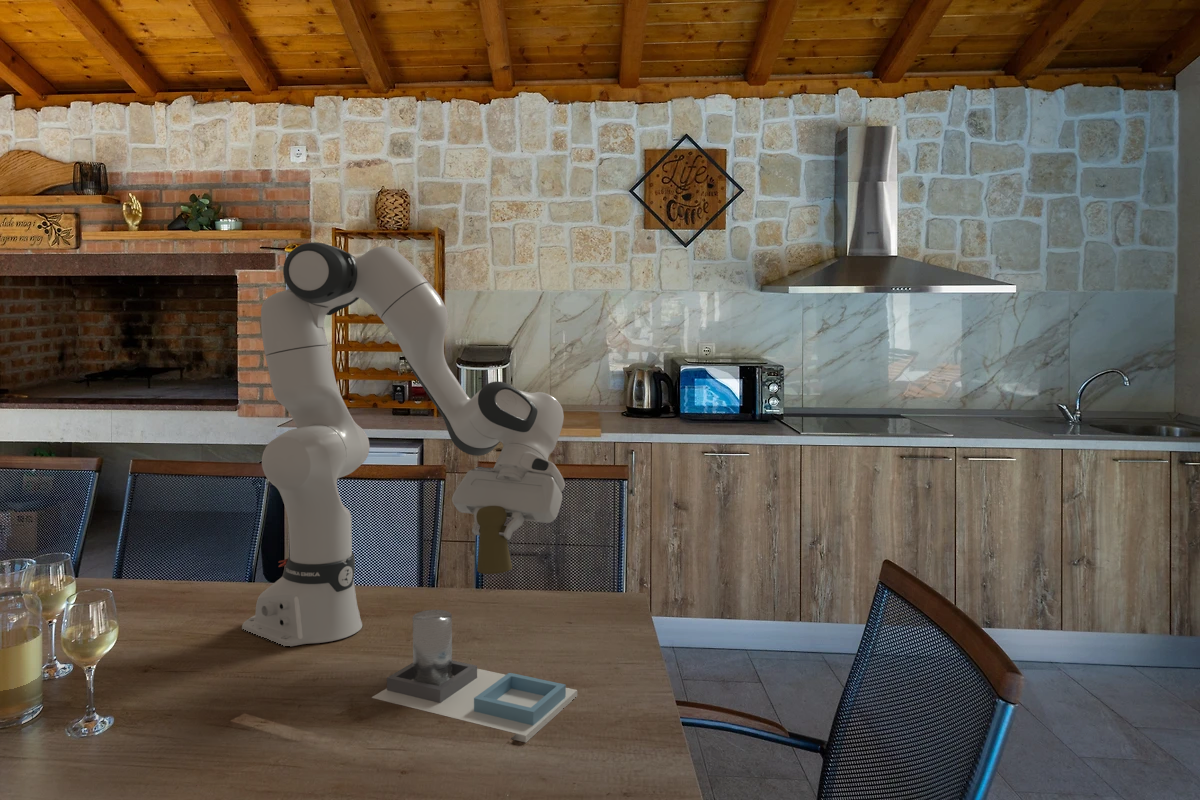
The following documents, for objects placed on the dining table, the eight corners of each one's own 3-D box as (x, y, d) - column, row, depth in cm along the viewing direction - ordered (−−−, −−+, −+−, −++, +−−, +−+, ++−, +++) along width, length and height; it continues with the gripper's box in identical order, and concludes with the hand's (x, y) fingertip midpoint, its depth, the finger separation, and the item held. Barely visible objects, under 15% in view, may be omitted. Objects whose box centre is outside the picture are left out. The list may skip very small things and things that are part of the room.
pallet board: (371, 703, 126) (371, 684, 126) (434, 665, 140) (434, 647, 140) (525, 742, 115) (525, 721, 114) (577, 696, 129) (577, 677, 129)
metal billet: (405, 687, 129) (404, 619, 128) (428, 673, 135) (428, 607, 134) (437, 695, 127) (436, 625, 126) (459, 680, 132) (459, 613, 131)
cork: (505, 574, 140) (502, 510, 139) (472, 573, 141) (468, 510, 141) (516, 564, 146) (513, 503, 145) (484, 564, 147) (480, 503, 147)
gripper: (463, 456, 153) (432, 519, 145) (562, 464, 144) (535, 532, 136) (477, 476, 157) (447, 538, 149) (573, 485, 149) (547, 552, 141)
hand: (490, 535), depth 143 cm, fingers closed on cork, 4 cm apart
